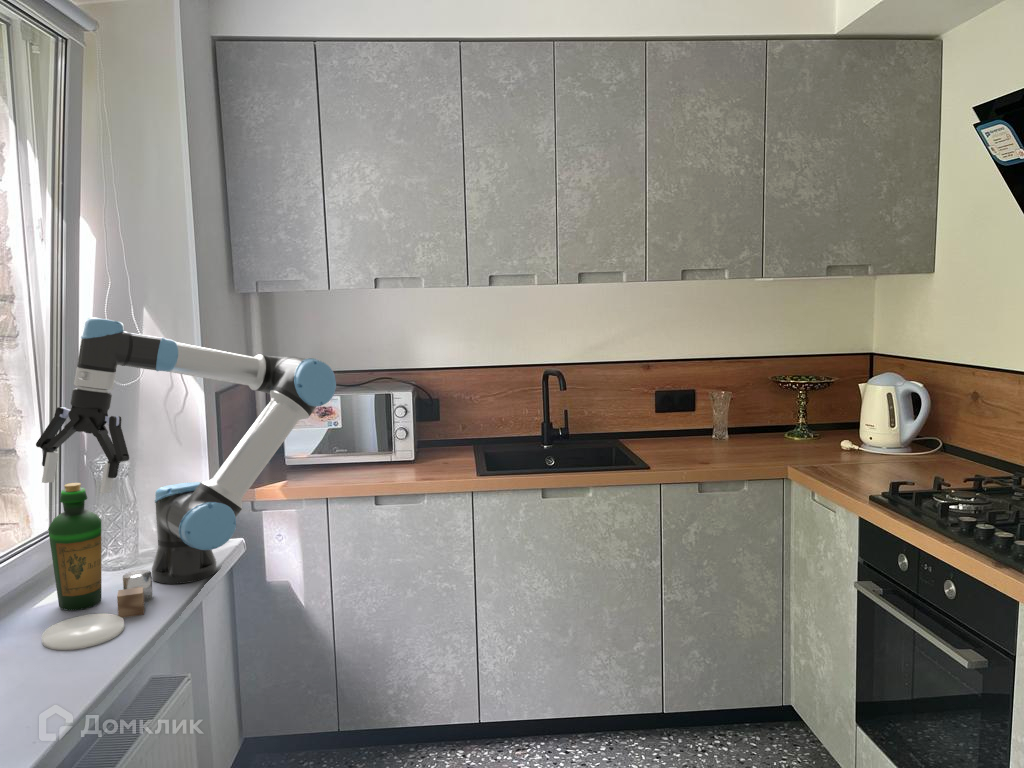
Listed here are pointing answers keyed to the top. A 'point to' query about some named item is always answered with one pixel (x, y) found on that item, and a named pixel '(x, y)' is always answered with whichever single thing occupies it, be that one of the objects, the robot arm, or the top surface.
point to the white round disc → (82, 631)
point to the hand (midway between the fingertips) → (76, 487)
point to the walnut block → (130, 602)
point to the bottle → (76, 551)
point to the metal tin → (139, 582)
